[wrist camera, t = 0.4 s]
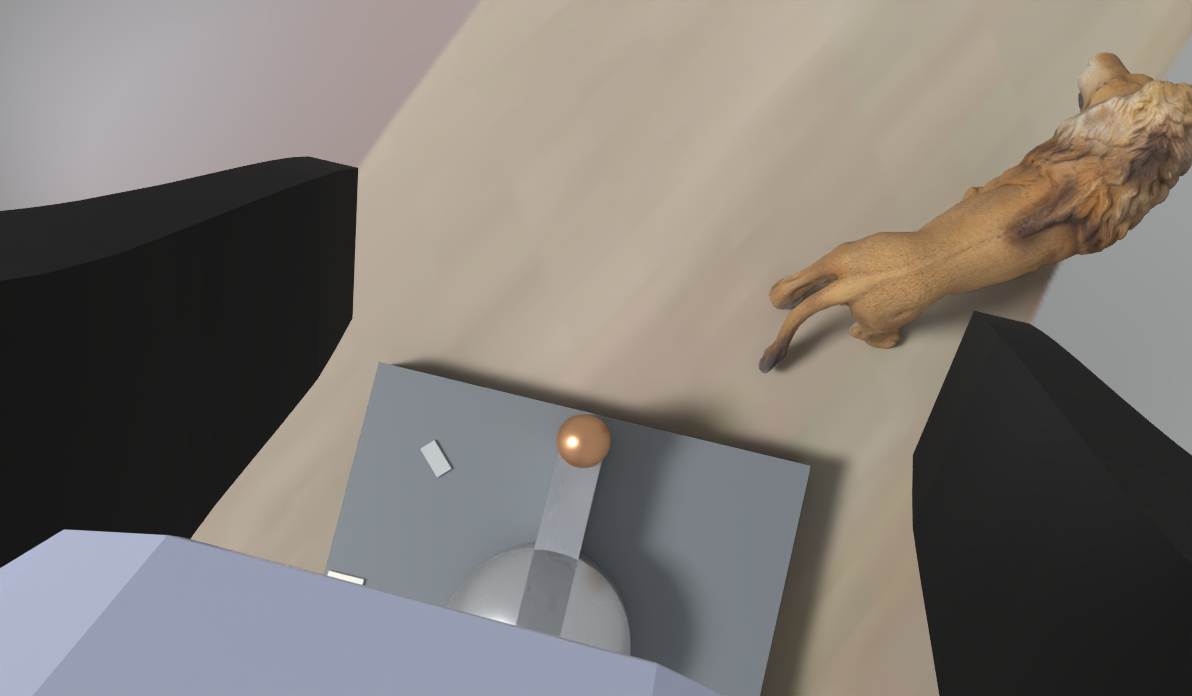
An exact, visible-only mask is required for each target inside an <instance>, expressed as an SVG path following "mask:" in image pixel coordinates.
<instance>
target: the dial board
mask: <svg viewBox="0 0 1192 696" xmlns="http://www.w3.org/2000/svg"><path fill="white" fill-rule="evenodd" d="M578 414H588V415H592V416H594V417H597V418H598V419H600V420H601V421H602V422H603V423H604V424H605V425H606V426H607V428H608V430H609V432H610V435H611V446H610V449H609V452H608V454H607V455H606V456H605V458H604V459H603V461H602V466H601V470H600V474H599V478H598V482H597V486H596V491H595V495H594V499H593V503H592V507H591V512H590V516H589V520H588V524H587V528H586V533H585V537H584V541H583V545H582V549H581V554H583V555H585V556H586V557H588V558H589V559H591V560H592V561H594V562H595V563H596V564H597V565H598V566H599V567H601V568H602V569H603V570H604V571H605V573H606V574H607V575H608V576H609V577H610V578H611V580H612V581H613V583H614V584H615V586H616V587H617V589H618V591H619V593H620V595H621V597H622V599H623V601H624V604H625V607H626V610H627V614H628V619H629V626H630V644H631V647H630V656H633V657H637V658H641V659H644V660H648V661H652V662H656V663H658V664H660V665H662V666H664V667H666V668H668V669H670V670H673V671H675V672H677V673H679V674H681V675H683V676H685V677H687V678H689V679H692V680H694V681H696V682H698V683H700V684H702V685H704V686H706V687H708V688H711V689H713V690H715V691H717V692H719V693H721V694H723V695H725V696H760V693H761V688H762V684H763V679H764V675H765V670H766V666H767V661H768V657H769V652H770V648H771V643H772V639H773V634H774V630H775V625H776V621H777V616H778V612H779V607H780V603H781V598H782V594H783V589H784V585H785V580H786V576H787V571H788V567H789V562H790V558H791V553H792V549H793V544H794V540H795V535H796V531H797V526H798V522H799V517H800V513H801V508H802V504H803V499H804V495H805V490H806V486H807V481H808V477H809V472H810V468H811V466H809V465H805V464H801V463H797V462H793V461H788V460H784V459H780V458H776V457H772V456H768V455H763V454H759V453H755V452H751V451H747V450H743V449H739V448H734V447H730V446H726V445H722V444H718V443H714V442H709V441H705V440H701V439H697V438H693V437H689V436H685V435H680V434H676V433H672V432H668V431H664V430H660V429H655V428H651V427H647V426H643V425H639V424H635V423H631V422H626V421H622V420H618V419H614V418H610V417H606V416H601V415H597V414H593V413H589V412H585V411H581V410H577V409H572V408H568V407H564V406H560V405H556V404H552V403H547V402H543V401H539V400H535V399H531V398H527V397H523V396H518V395H514V394H510V393H506V392H502V391H498V390H493V389H489V388H485V387H481V386H477V385H473V384H469V383H464V382H460V381H456V380H452V379H448V378H444V377H439V376H435V375H431V374H427V373H423V372H419V371H415V370H410V369H406V368H402V367H398V366H394V365H390V364H385V363H381V362H379V364H378V368H377V372H376V376H375V380H374V384H373V387H372V391H371V395H370V399H369V403H368V407H367V411H366V415H365V418H364V422H363V426H362V430H361V434H360V438H359V442H358V445H357V449H356V453H355V457H354V461H353V465H352V469H351V473H350V476H349V480H348V484H347V488H346V492H345V496H344V500H343V503H342V507H341V511H340V515H339V519H338V523H337V527H336V531H335V534H334V538H333V542H332V546H331V550H330V554H329V558H328V561H327V565H326V569H325V573H324V575H327V576H331V577H334V578H338V579H342V580H346V581H350V582H353V583H357V584H361V585H365V586H368V587H372V588H376V589H380V590H384V591H387V592H391V593H395V594H399V595H402V596H406V597H410V598H414V599H418V600H421V601H425V602H429V603H433V604H436V605H440V606H444V607H447V605H448V603H449V601H450V599H451V597H452V596H453V594H454V593H455V591H456V589H457V588H458V587H459V586H460V585H461V583H462V582H463V581H464V580H465V579H466V578H467V577H468V576H469V575H470V574H471V573H472V572H473V571H474V570H476V569H477V568H478V567H479V566H480V565H481V564H482V563H483V562H485V561H486V560H488V559H489V558H491V557H492V556H494V555H496V554H497V553H499V552H501V551H503V550H506V549H509V548H511V547H514V546H519V545H523V544H531V543H536V540H537V536H538V532H539V528H540V524H541V520H542V515H543V511H544V507H545V503H546V499H547V495H548V491H549V487H550V482H551V478H552V474H553V470H554V466H555V462H556V458H557V454H558V449H557V443H556V438H557V433H558V431H559V428H560V427H561V425H562V424H563V423H564V422H565V421H566V420H567V419H568V418H570V417H572V416H575V415H578Z"/></svg>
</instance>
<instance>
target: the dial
mask: <svg viewBox="0 0 1192 696" xmlns="http://www.w3.org/2000/svg"><path fill="white" fill-rule="evenodd" d="M556 443H557V449H558V454H557V458H556V462H555V466H554V470H553V474H552V478H551V482H550V487H549V491H548V495H547V499H546V503H545V507H544V511H543V515H542V520H541V524H540V528H539V532H538V536H537V540H536V543H531V544H523V545H519V546H514V547H511V548H509V549H506V550H503V551H501V552H499V553H497V554H496V555H494V556H492V557H491V558H489V559H488V560H486V561H485V562H483V563H482V564H481V565H480V566H479V567H478V568H477V569H476V570H474V571H473V572H472V573H471V574H470V575H469V576H468V577H467V578H466V579H465V580H464V581H463V582H462V583H461V585H460V586H459V587H458V588H457V589H456V591H455V593H454V594H453V596H452V597H451V599H450V601H449V603H448V605H447V607H448V608H452V609H455V610H459V611H463V612H467V613H470V614H474V615H478V616H482V617H486V618H489V619H493V620H497V621H501V622H504V623H508V624H512V625H516V626H520V627H523V628H527V629H531V630H535V631H538V632H542V633H546V634H550V635H554V636H557V637H561V638H565V639H569V640H572V641H576V642H580V643H584V644H588V645H591V646H595V647H599V648H603V649H606V650H610V651H614V652H618V653H622V654H625V655H629V656H630V647H631V644H630V626H629V619H628V614H627V610H626V607H625V604H624V601H623V599H622V597H621V595H620V593H619V591H618V589H617V587H616V586H615V584H614V583H613V581H612V580H611V578H610V577H609V576H608V575H607V574H606V573H605V571H604V570H603V569H602V568H601V567H599V566H598V565H597V564H596V563H595V562H594V561H592V560H591V559H589V558H588V557H586V556H585V555H583V554H581V549H582V545H583V541H584V537H585V533H586V528H587V524H588V520H589V516H590V512H591V507H592V503H593V499H594V495H595V491H596V486H597V482H598V478H599V474H600V470H601V466H602V461H603V459H604V458H605V456H606V455H607V454H608V452H609V449H610V446H611V435H610V432H609V430H608V428H607V426H606V425H605V424H604V423H603V422H602V421H601V420H600V419H598V418H597V417H594V416H592V415H588V414H578V415H575V416H572V417H570V418H568V419H567V420H566V421H565V422H564V423H563V424H562V425H561V427H560V428H559V431H558V433H557V438H556Z"/></svg>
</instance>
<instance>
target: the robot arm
mask: <svg viewBox="0 0 1192 696" xmlns="http://www.w3.org/2000/svg"><path fill="white" fill-rule="evenodd" d="M357 185H358V168H356V167H352V166H347V165H343V164H339V163H334V162H330V161H326V160H321V159H317V158H313V157H293V158H284V159H278V160H272V161H267V162H261V163H257V164H252V165H247V166H242V167H238V168H234V169H229V170H224V171H220V172H216V173H211V174H207V175H203V176H198V177H194V178H190V179H185V180H181V181H176V182H172V183H167V184H163V185H158V186H152V187H148V188H142V189H137V190H132V191H127V192H121V193H116V194H111V195H106V196H101V197H96V198H91V199H86V200H81V201H74V202H67V203H62V204H54V205H47V206H41V207H33V208H25V209H16V210H7V211H0V696H725V695H723V694H721V693H719V692H717V691H715V690H713V689H711V688H708V687H706V686H704V685H702V684H700V683H698V682H696V681H694V680H692V679H689V678H687V677H685V676H683V675H681V674H679V673H677V672H675V671H673V670H670V669H668V668H666V667H664V666H662V665H660V664H658V663H656V662H652V661H648V660H644V659H641V658H637V657H633V656H629V655H625V654H622V653H618V652H614V651H610V650H606V649H603V648H599V647H595V646H591V645H588V644H584V643H580V642H576V641H572V640H569V639H565V638H561V637H557V636H554V635H550V634H546V633H542V632H538V631H535V630H531V629H527V628H523V627H520V626H516V625H512V624H508V623H504V622H501V621H497V620H493V619H489V618H486V617H482V616H478V615H474V614H470V613H467V612H463V611H459V610H455V609H452V608H448V607H444V606H440V605H436V604H433V603H429V602H425V601H421V600H418V599H414V598H410V597H406V596H402V595H399V594H395V593H391V592H387V591H384V590H380V589H376V588H372V587H368V586H365V585H361V584H357V583H353V582H350V581H346V580H342V579H338V578H334V577H331V576H327V575H323V574H319V573H315V572H312V571H308V570H304V569H300V568H297V567H293V566H289V565H285V564H281V563H278V562H274V561H270V560H266V559H263V558H259V557H255V556H251V555H247V554H244V553H240V552H236V551H232V550H229V549H225V548H221V547H217V546H213V545H210V544H206V543H202V542H198V541H195V540H191V537H192V536H193V534H194V533H195V531H196V530H197V529H198V527H199V526H200V525H201V523H202V522H203V521H204V519H205V518H206V517H207V515H208V514H209V513H210V511H211V510H212V509H213V507H214V506H215V505H216V503H217V502H218V501H219V500H220V498H221V497H222V496H223V495H224V494H225V492H226V491H227V490H228V489H229V487H230V486H231V485H232V484H233V483H234V481H235V480H236V479H237V478H238V476H239V475H240V474H241V473H242V472H243V470H244V469H245V468H246V467H247V466H248V464H249V463H250V462H251V461H252V459H253V458H254V457H255V456H256V455H257V453H258V452H259V451H260V450H261V449H262V447H263V446H264V445H265V444H266V442H267V441H268V440H269V439H270V438H271V436H272V435H273V434H274V433H275V431H276V430H277V429H278V428H279V427H280V425H281V424H282V423H283V422H284V420H285V419H286V418H287V417H288V415H289V414H290V413H291V412H292V411H293V409H294V408H295V407H296V406H297V404H298V403H299V402H300V401H301V399H302V398H303V397H304V396H305V394H306V393H307V392H308V390H309V389H310V388H311V387H312V385H313V384H314V383H315V381H316V380H317V379H318V377H319V376H320V374H321V372H322V371H323V369H324V367H325V366H326V364H327V362H328V361H329V359H330V357H331V356H332V354H333V352H334V351H335V349H336V347H337V345H338V343H339V342H340V340H341V338H342V336H343V334H344V333H345V331H346V329H347V327H348V325H349V323H350V322H351V320H352V315H353V289H354V263H355V237H356V211H357ZM912 507H913V532H914V539H915V546H916V553H917V559H918V566H919V572H920V579H921V585H922V591H923V597H924V604H925V610H926V616H927V622H928V628H929V634H930V640H931V646H932V652H933V658H934V665H935V671H936V677H937V683H938V689H939V696H1192V455H1190V454H1189V453H1188V452H1186V451H1185V450H1184V449H1183V448H1181V447H1180V446H1179V445H1177V444H1176V443H1175V442H1174V441H1172V440H1171V439H1170V438H1169V437H1168V436H1166V435H1165V434H1164V433H1163V432H1161V431H1160V430H1159V429H1158V428H1157V427H1155V426H1154V425H1153V424H1152V423H1151V422H1149V421H1148V420H1147V419H1146V418H1145V417H1143V416H1142V415H1141V414H1140V413H1139V412H1138V411H1136V410H1135V409H1134V408H1133V407H1132V406H1131V405H1129V404H1128V403H1127V402H1126V401H1125V400H1123V399H1122V398H1121V397H1120V396H1119V395H1118V394H1117V393H1115V392H1114V391H1113V390H1112V389H1111V388H1109V387H1108V386H1107V385H1106V384H1105V383H1104V382H1103V381H1102V380H1100V379H1099V378H1098V377H1097V376H1096V375H1095V374H1093V373H1092V372H1091V371H1090V370H1089V369H1088V368H1086V367H1085V366H1084V365H1083V364H1082V363H1081V362H1080V361H1078V360H1077V359H1076V358H1075V357H1074V356H1072V355H1071V354H1070V353H1069V352H1067V351H1066V350H1065V349H1064V348H1063V347H1062V346H1060V345H1059V344H1058V343H1057V342H1055V341H1054V340H1053V339H1052V338H1050V337H1049V336H1048V335H1046V334H1045V333H1043V332H1042V331H1040V330H1039V329H1037V328H1036V327H1034V326H1032V325H1031V324H1028V323H1024V322H1020V321H1015V320H1011V319H1007V318H1002V317H998V316H994V315H989V314H985V313H981V312H977V311H974V312H973V315H972V317H971V319H970V322H969V324H968V326H967V329H966V331H965V333H964V336H963V338H962V341H961V343H960V345H959V348H958V350H957V352H956V355H955V357H954V359H953V362H952V364H951V366H950V369H949V371H948V374H947V376H946V378H945V381H944V383H943V385H942V388H941V390H940V392H939V395H938V397H937V399H936V402H935V404H934V407H933V409H932V411H931V414H930V416H929V418H928V421H927V423H926V425H925V428H924V430H923V433H922V435H921V437H920V440H919V442H918V444H917V447H916V449H915V451H914V454H913V484H912Z"/></svg>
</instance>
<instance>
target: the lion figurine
mask: <svg viewBox="0 0 1192 696" xmlns="http://www.w3.org/2000/svg"><path fill="white" fill-rule="evenodd" d="M1078 88H1079V90H1080V93H1079V96H1078V99H1079V107H1080V111H1081V113H1080V114H1078V115H1076V116H1074V117H1072V118H1069V119H1067V120H1066V121H1064V122H1062V123H1061V124H1060V126H1059V127H1058V129H1057V130H1056V131H1055V134H1054V136H1053V137H1052V138H1051V139H1049V140H1048V141H1046V142H1044V143H1043V144H1041V145H1039V146H1037V147H1035V148H1034V149H1033V150H1032V151H1030V152H1029V153H1028V154H1027V155H1026V156H1025V157H1024V159H1023V160H1022V161H1021V163H1020V164H1019V165H1017V166H1015V167H1013V168H1011V169H1008V170H1007V171H1005V172H1004V173H1003V174H1002V175H1001V176H999V177H997V178H995V179H993V180H992V181H990V182H989V183H987V184H986V185H985V187H980V188H976V187H972V188H969V189H968V191H967V192H966V194H965V196H964V198H963V201H962V202H960V203H958V204H956V205H955V206H953V207H952V208H950V209H949V210H947V211H946V212H944V213H943V214H941V215H940V216H938V217H937V218H935V219H934V220H932V221H931V222H929V223H928V224H926V225H925V226H923V227H922V228H921V229H920V230H918V231H917V232H880V233H876V234H873V235H870V236H867V237H865V238H862V239H860V240H857V241H854V242H846V243H843V244H841V245H839V246H837V247H836V248H835V249H834V250H833V251H831V252H830V253H828V254H827V255H825V256H824V257H822V258H821V259H819V260H818V261H816V262H815V263H814V264H812V265H811V266H809V267H808V268H806V269H804V270H802V271H800V272H799V273H797V274H795V275H792V276H789V277H786V278H785V279H782V280H780V281H779V282H777V283H776V284H775V285H774V286H773V287H772V288H771V290H770V299H771V302H772V304H773V305H774V307H776V308H777V309H789V308H792V307H794V306H796V305H797V306H796V307H795V308H794V309H793V310H792V311H791V312H790V313H789V315H788V316H787V318H786V320H785V321H784V323H783V325H782V327H781V330H780V332H779V334H778V336H777V339H776V340H775V342H774V343H773V344H772V345H771V346H770V347H768V348H767V349H766V350H765V352H764V355H763V357H762V358H761V359H760V362H759V369H760V370H761V372H762V373H767V372H769V371H770V370H771V369H772V368H773V367H774V366H775V365H776V364H777V363H778V362H779V361H780V360H782V359H783V358H784V357H785V355H786V353H787V350H788V347H789V344H790V342H791V340H792V337H793V335H794V334H795V332H796V330H797V329H798V327H799V326H800V325H801V324H802V323H803V322H804V321H805V320H806V319H807V318H809V317H810V316H812V315H813V314H814V313H816V312H818V311H821V310H823V309H826V308H829V307H831V306H834V305H838V304H840V305H848V306H849V307H850V310H851V314H852V316H853V317H854V319H855V320H856V321H857V322H856V323H854V324H853V325H852V326H851V327H850V333H851V335H852V336H853V337H855V338H858V339H861V340H864V341H865V342H866V343H868V344H869V345H871V346H873V347H876V348H883V349H884V348H891V347H893V346H895V345H896V343H897V342H898V340H899V339H900V337H901V336H900V330H899V328H900V327H902V326H903V325H905V324H906V323H908V322H910V321H913V320H914V319H916V318H917V317H918V316H919V315H920V314H921V313H922V311H923V310H925V309H926V308H928V307H929V306H930V305H932V304H933V303H935V302H936V301H938V300H939V299H941V298H942V297H944V296H947V295H953V294H960V293H966V292H971V291H974V290H977V289H980V288H983V287H987V286H991V285H995V284H999V283H1002V282H1006V281H1009V280H1012V279H1014V278H1017V277H1019V276H1021V275H1023V274H1026V273H1033V272H1035V271H1037V270H1038V268H1039V266H1040V265H1044V264H1046V263H1047V264H1052V263H1056V262H1058V261H1062V260H1064V259H1067V258H1069V257H1071V256H1073V255H1076V254H1081V255H1083V254H1091V253H1095V252H1101V251H1102V250H1103V249H1104V248H1107V247H1109V246H1111V245H1113V244H1114V243H1115V242H1116V241H1117V240H1121V239H1123V238H1124V237H1125V236H1126V234H1127V231H1128V230H1131V229H1133V228H1134V227H1135V226H1136V225H1137V224H1139V223H1140V222H1141V220H1142V219H1143V217H1144V216H1145V215H1146V214H1147V213H1148V212H1149V210H1150V209H1152V208H1153V207H1154V206H1156V205H1157V204H1160V203H1162V202H1164V201H1165V199H1166V198H1167V196H1168V194H1169V190H1170V189H1171V188H1173V187H1174V186H1175V184H1176V183H1177V181H1178V180H1179V176H1183V175H1184V174H1185V173H1187V171H1188V170H1189V168H1190V167H1191V165H1192V85H1189V84H1187V83H1179V84H1173V83H1172V82H1169V81H1160V80H1154V79H1153V78H1151V77H1149V76H1146V75H1144V74H1130V72H1129V71H1128V70H1127V69H1126V68H1125V66H1124V65H1123V63H1122V62H1121V61H1120V59H1119V58H1118V57H1117V56H1116V55H1114V54H1112V53H1098V54H1096V55H1095V56H1093V57H1092V58H1091V59H1090V61H1089V64H1088V66H1087V67H1085V68H1084V69H1083V70H1082V72H1081V74H1080V76H1079V79H1078ZM826 282H832V283H831V284H829V285H827V286H826V287H824V288H823V289H821V290H819V291H818V292H816V293H814V294H813V295H811V296H809V297H808V298H806V299H805V300H804V301H802V300H803V297H804V293H805V292H807V291H808V290H810V289H811V288H813V287H815V286H816V285H818V284H821V283H826ZM801 301H802V302H801ZM800 302H801V303H800ZM799 303H800V304H799ZM798 304H799V305H798Z"/></svg>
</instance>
